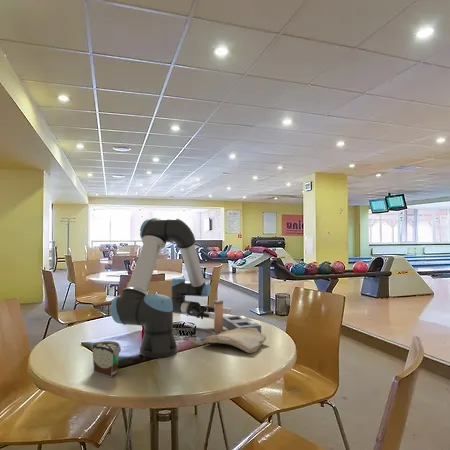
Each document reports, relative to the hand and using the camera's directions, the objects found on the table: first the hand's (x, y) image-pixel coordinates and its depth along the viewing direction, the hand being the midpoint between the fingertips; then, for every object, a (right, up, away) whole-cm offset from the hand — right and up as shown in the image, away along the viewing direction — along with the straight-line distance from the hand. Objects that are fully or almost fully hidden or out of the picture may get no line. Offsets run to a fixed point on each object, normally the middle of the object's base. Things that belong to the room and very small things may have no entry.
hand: (223, 313), depth 182 cm
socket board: (+9, -9, +6) cm, 14 cm away
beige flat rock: (+6, -9, -21) cm, 24 cm away
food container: (-40, -8, -52) cm, 66 cm away
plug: (-2, -9, +1) cm, 9 cm away
